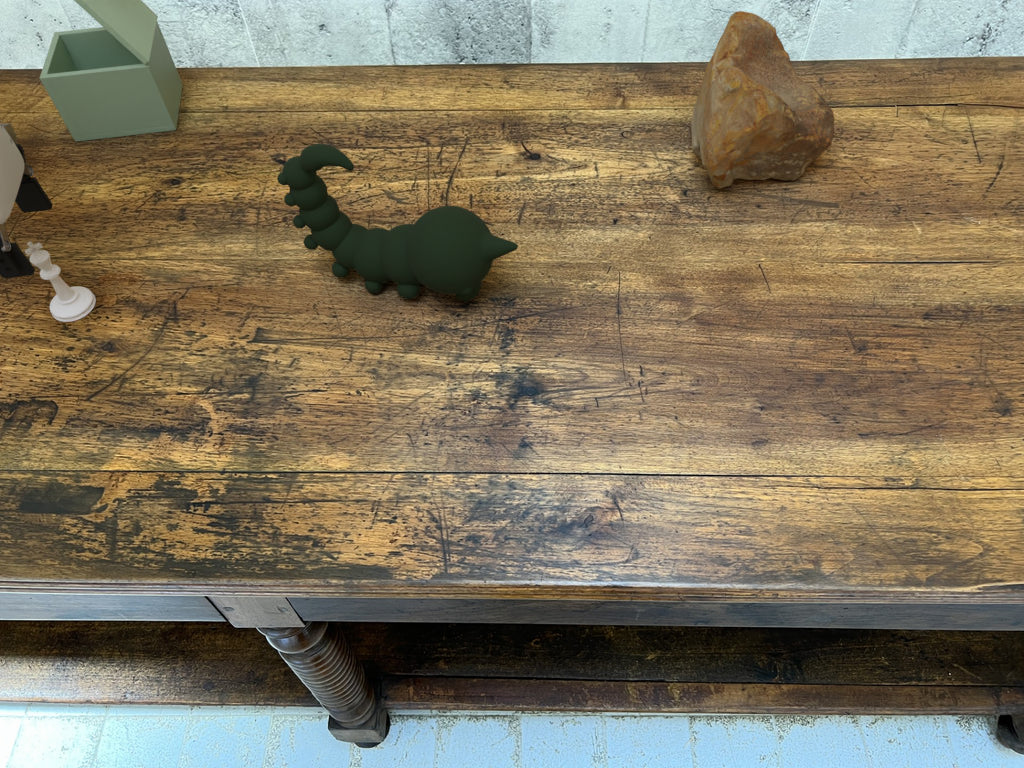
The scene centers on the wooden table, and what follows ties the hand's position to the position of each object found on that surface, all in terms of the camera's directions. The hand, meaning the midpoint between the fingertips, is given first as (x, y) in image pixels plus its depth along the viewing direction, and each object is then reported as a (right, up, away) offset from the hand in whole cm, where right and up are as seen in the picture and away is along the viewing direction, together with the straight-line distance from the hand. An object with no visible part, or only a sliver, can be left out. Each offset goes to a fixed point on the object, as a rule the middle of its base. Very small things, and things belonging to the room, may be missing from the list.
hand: (29, 241), depth 85 cm
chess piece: (0, -6, +9) cm, 11 cm away
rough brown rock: (+82, +14, +20) cm, 85 cm away
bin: (-3, +23, +29) cm, 38 cm away
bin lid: (-1, +33, +16) cm, 37 cm away
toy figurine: (+39, -3, +9) cm, 40 cm away
